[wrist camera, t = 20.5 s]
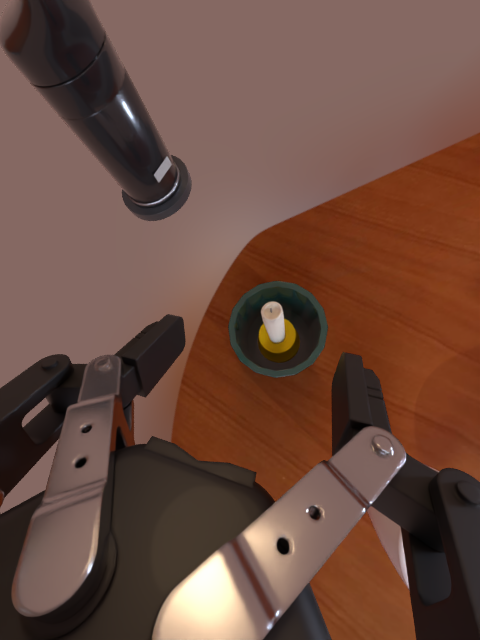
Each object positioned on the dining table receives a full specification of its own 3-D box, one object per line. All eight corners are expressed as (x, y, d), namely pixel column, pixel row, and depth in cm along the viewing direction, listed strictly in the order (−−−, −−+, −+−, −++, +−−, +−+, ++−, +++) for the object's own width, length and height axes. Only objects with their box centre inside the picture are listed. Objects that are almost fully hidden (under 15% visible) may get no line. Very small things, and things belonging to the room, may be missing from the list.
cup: (231, 330, 33) (212, 313, 24) (289, 294, 33) (290, 264, 24) (268, 390, 30) (260, 396, 22) (330, 351, 30) (348, 341, 21)
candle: (250, 335, 32) (218, 298, 17) (284, 314, 31) (283, 257, 16) (272, 370, 30) (258, 364, 15) (308, 348, 30) (329, 320, 15)
